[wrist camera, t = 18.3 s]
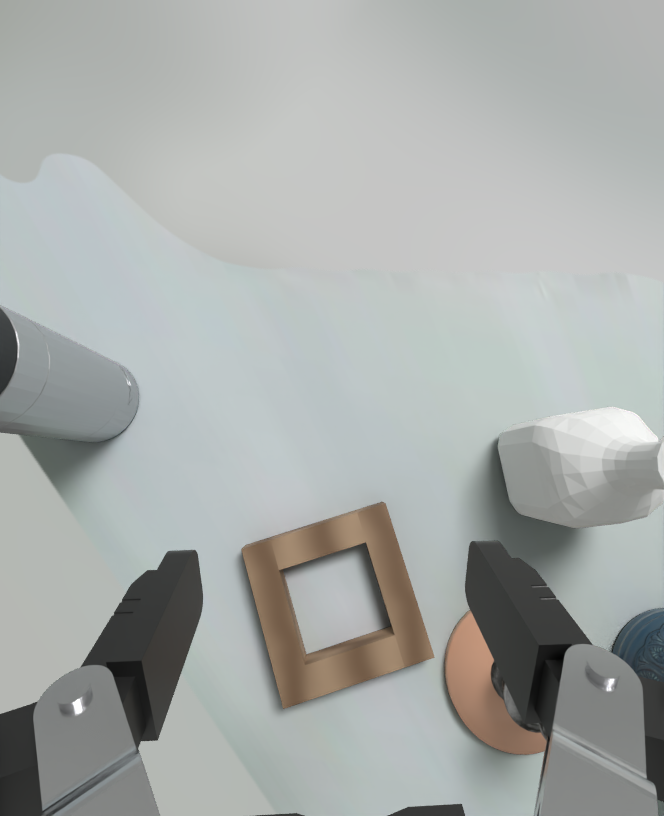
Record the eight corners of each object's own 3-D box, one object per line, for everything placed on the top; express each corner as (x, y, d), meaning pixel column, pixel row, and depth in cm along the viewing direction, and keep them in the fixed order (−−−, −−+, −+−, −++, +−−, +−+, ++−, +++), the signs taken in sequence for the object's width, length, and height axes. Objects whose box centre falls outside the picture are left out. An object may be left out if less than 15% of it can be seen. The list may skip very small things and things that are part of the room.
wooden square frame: (285, 695, 39) (283, 708, 37) (245, 544, 42) (241, 549, 39) (428, 647, 40) (434, 657, 38) (382, 501, 42) (385, 503, 40)
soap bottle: (573, 415, 44) (830, 361, 21) (594, 504, 42) (895, 545, 20) (487, 429, 44) (657, 388, 21) (507, 518, 42) (711, 577, 20)
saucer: (472, 767, 39) (476, 775, 38) (425, 620, 41) (427, 624, 40) (605, 720, 39) (612, 726, 38) (552, 577, 41) (558, 580, 40)
